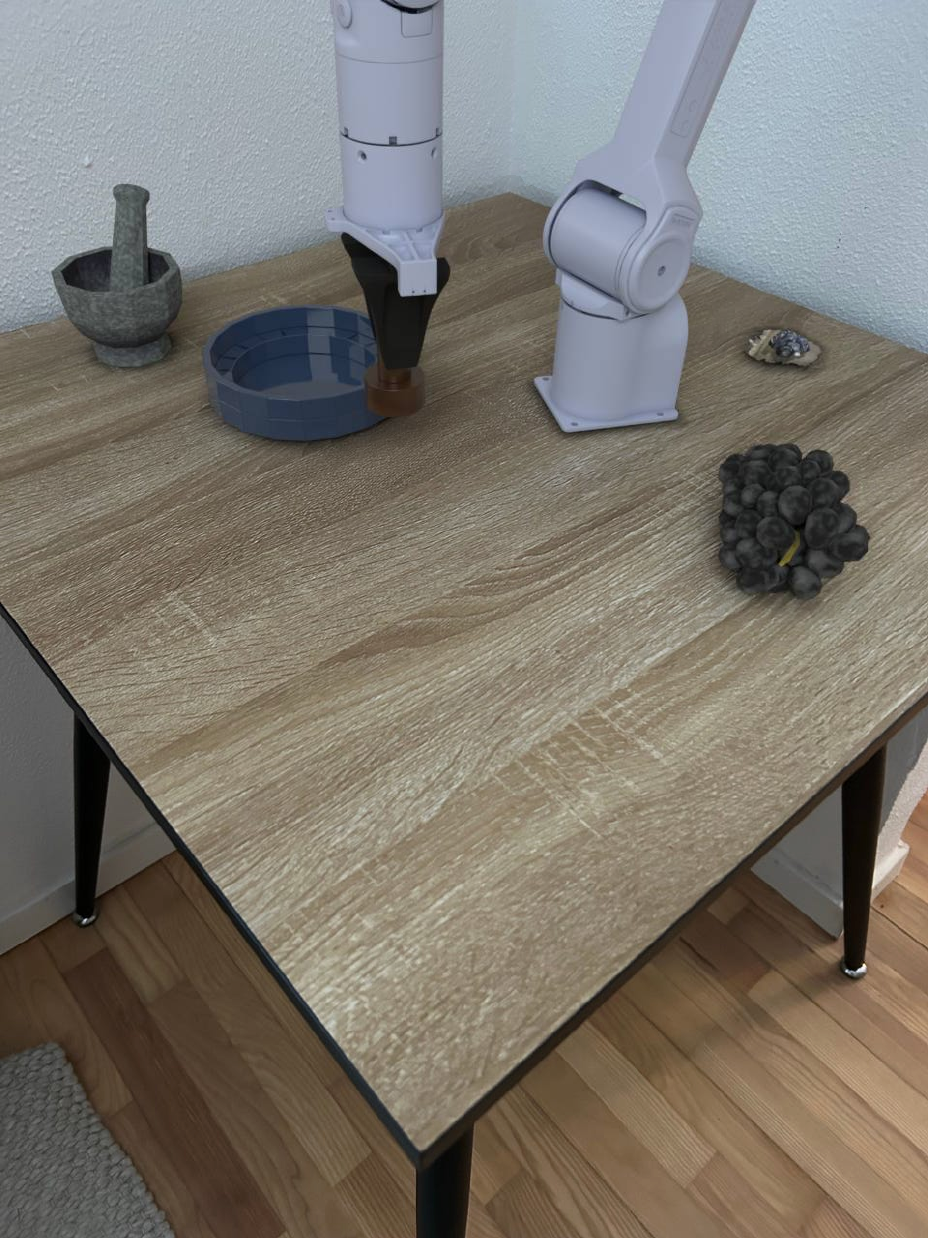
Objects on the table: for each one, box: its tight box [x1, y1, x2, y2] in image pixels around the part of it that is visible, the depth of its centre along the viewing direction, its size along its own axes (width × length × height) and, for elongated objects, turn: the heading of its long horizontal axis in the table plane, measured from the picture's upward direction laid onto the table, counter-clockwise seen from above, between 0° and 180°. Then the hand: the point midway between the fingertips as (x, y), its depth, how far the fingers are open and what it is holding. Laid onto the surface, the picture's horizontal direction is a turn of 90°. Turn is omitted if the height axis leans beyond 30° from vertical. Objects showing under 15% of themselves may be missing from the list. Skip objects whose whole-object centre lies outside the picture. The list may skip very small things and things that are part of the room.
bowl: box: [201, 303, 387, 442], centre depth 76 cm, size 15×15×4 cm
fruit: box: [717, 442, 871, 601], centre depth 62 cm, size 9×8×15 cm
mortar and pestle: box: [51, 183, 183, 368], centre depth 79 cm, size 11×9×12 cm
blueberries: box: [743, 328, 822, 367], centre depth 84 cm, size 7×8×2 cm
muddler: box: [364, 335, 426, 418], centre depth 62 cm, size 4×4×9 cm
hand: (396, 355), depth 63 cm, fingers closed on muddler, 2 cm apart
